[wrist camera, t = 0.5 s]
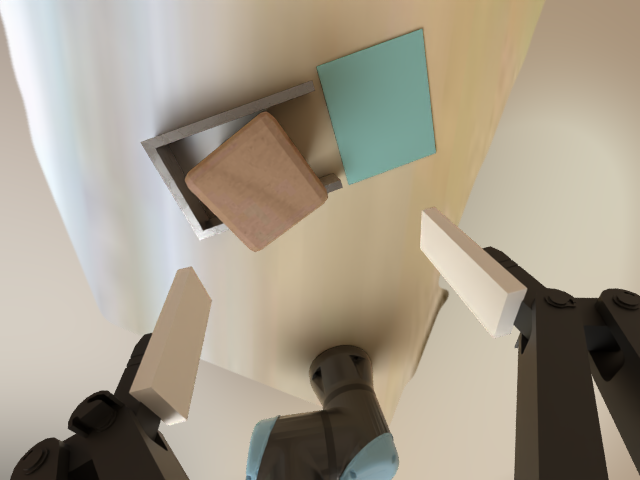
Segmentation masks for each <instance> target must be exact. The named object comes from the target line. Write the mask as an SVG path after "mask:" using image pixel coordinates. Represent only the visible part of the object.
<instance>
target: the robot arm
mask: <svg viewBox="0 0 640 480" xmlns="http://www.w3.org/2000/svg"><path fill="white" fill-rule="evenodd" d="M420 249H421V250H422V251H423V253H424V254H425V255H426V256H427V257H428V259H429V260H430V261H431V262H432V264H433V265H434V266H435V267H436V268H437V270H438V271H439V272H440V273H441V275H442V276H443V277H444V278H445V280H447V282H448V283H449V284H450V286H451V287H452V288H453V289H454V291H455V292H456V293H457V294H458V295H459V297H460V298H461V299H462V300H463V301H464V303H465V304H466V305H467V307H468V308H469V309H470V310H471V311H472V313H473V314H474V315H475V316H476V317H477V319H478V320H479V321H480V322H481V324H482V325H483V326H484V327H485V329H486V330H487V331H488V332H489V334H490V335H491V336H492V337H493V338H496V337H500V336H504V335H508V334H511V331H512V328H513V325H515V327H516V328H517V329H518V330H519V331H520V335H519V337H518V340H517V342H516V345H515V348H519V349H518V350H519V351H518V380H517V410H516V412H517V413H516V443H515V474H514V480H609V479H608V473H607V467H606V461H605V455H604V449H603V443H602V437H601V431H600V424H599V418H598V412H597V406H596V400H595V394H594V388H593V381H592V376H593V378H594V381H595V382H596V385H597V387H598V389H599V391H600V393H601V395H602V397H603V399H604V401H605V404H606V405H607V408H608V410H609V412H610V414H611V416H612V418H613V420H614V422H615V424H616V427H617V429H618V431H619V432H620V435H621V437H622V439H623V441H624V443H625V445H626V448H627V450H628V451H629V454H630V456H631V458H632V460H633V462H634V464H635V466H636V468H637V471H638V472H639V475H640V296H639V295H637V294H636V293H632V292H630V291H627V290H622V289H607V290H604V291H603V292H602V293H601V295H600V297H599V298H574V297H573V296H571V295H569V294H568V293H566V292H563V291H560V290H557V289H550V288H546V287H544V286H543V285H542V284H541V283H540V282H538V281H537V280H536V279H535V278H533V277H532V276H531V275H530V274H528V273H527V272H526V271H525V270H524V269H522V268H521V267H520V266H518V264H516V263H515V262H514V261H513V260H511V259H510V258H509V257H508V256H507V255H505V254H504V253H503V252H502V251H499V250H497V249H495V248H492V247H486V248H481V247H480V246H479V245H477V244H476V243H475V242H474V241H473V240H472V239H471V238H470V237H468V236H467V235H466V234H465V233H464V232H463V231H461V229H459V228H458V227H457V226H456V225H455V224H454V223H453V222H451V221H450V220H449V219H448V218H447V217H446V216H445V215H443V214H442V213H441V212H440V211H439V210H438V209H437V208H436V207H432V208H428V209H424V210H422V219H421V240H420ZM211 302H212V300H211V298H210V297H209V295H208V293H207V291H206V290H205V288H204V286H203V285H202V283H201V281H200V280H199V278H198V276H197V275H196V273H195V271H194V270H193V268H192V267H187V268H183V269H179V270H177V273H176V275H175V278H174V281H173V283H172V286H171V288H170V291H169V293H168V296H167V298H166V301H165V303H164V306H163V308H162V311H161V313H160V316H159V318H158V321H157V323H156V326H155V328H154V331H153V333H150V334H146V335H144V336H143V337H142V338H141V339H140V341H139V342H138V343H137V344H136V346H135V348H134V350H133V352H132V355H131V359H129V362H128V364H127V368H125V370H124V373H123V375H122V377H121V380H120V382H119V384H118V387H117V389H116V391H115V393H114V395H113V394H111V393H110V392H109V391H99V392H96V393H94V394H92V395H90V396H89V397H87V398H86V399H85V400H84V401H83V402H82V403H80V404H79V405H78V406H77V408H76V409H75V410H74V412H73V413H72V415H71V417H70V419H69V421H68V429H69V430H71V431H73V432H75V433H76V434H75V435H73V436H71V437H70V438H68V439H66V440H64V441H60V440H58V439H56V438H47V439H45V440H43V441H41V442H39V443H37V444H36V445H35V446H34V447H32V448H31V449H30V450H29V451H28V452H27V453H26V454H25V455H24V456H23V457H22V458H21V459H20V461H19V462H18V464H17V465H16V467H15V468H14V471H13V473H12V476H11V479H10V480H189V478H188V477H187V475H186V473H185V471H184V470H183V468H182V466H181V465H180V463H179V461H178V460H177V458H176V457H175V455H174V453H173V451H172V450H171V448H170V446H169V445H168V443H167V441H166V440H165V438H164V436H163V435H162V433H161V432H160V431H158V427H159V424H160V420H162V421H163V422H164V423H165V424H167V425H168V426H169V425H172V424H176V423H180V422H184V421H187V418H188V412H189V408H190V403H191V398H192V393H193V389H194V384H195V379H196V374H197V370H198V365H199V360H200V355H201V350H202V346H203V341H204V336H205V331H206V326H207V322H208V317H209V312H210V307H211ZM518 346H519V347H518ZM591 374H592V375H591ZM309 377H310V383H311V386H312V388H313V390H314V392H315V394H316V395H317V397H318V399H319V401H320V402H321V404H322V406H323V410H321V411H313V412H307V413H300V414H292V415H285V416H280V415H278V416H276V417H274V418H269V419H265V420H261V421H259V422H258V423H257V424H256V426H255V428H254V430H253V433H252V436H251V441H250V447H249V452H248V459H247V468H246V475H247V476H246V480H391V479H392V478H393V477H394V476H395V474H396V472H397V470H398V466H399V457H398V453H397V450H396V447H395V444H394V442H393V436H392V434H391V433H390V430H389V428H388V425H387V423H386V420H385V418H384V415H383V412H382V410H381V407H380V405H379V402H378V400H377V398H376V395H375V392H374V389H373V370H372V364H371V362H370V359H369V357H368V355H367V353H366V352H365V351H363V350H362V349H360V348H358V347H354V346H339V347H335V348H332V349H329V350H327V351H325V352H323V353H322V354H320V355H319V356H318V357H317V358H316V359H315V360H314V361H313V363H312V365H311V367H310V370H309Z"/></svg>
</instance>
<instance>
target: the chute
mask: <svg viewBox="0 0 640 480" xmlns="http://www.w3.org/2000/svg"><path fill="white" fill-rule="evenodd" d="M312 91H315V89H314V85H313V82H312V81H309V82H306V83H303V84H301V85H298V86H295V87H292V88H290V89H287V90H284V91H281V92H278V93H276V94H273V95H270V96H267V97H265V98H262V99H259V100H256V101H254V102H251V103H248V104H245V105H242V106H240V107H237V108H234V109H231V110H229V111H226V112H223V113H220V114H217V115H215V116H212V117H209V118H206V119H204V120H201V121H198V122H195V123H192V124H190V125H187V126H184V127H181V128H179V129H176V130H173V131H170V132H168V133H165V134H162V135H159V136H156V137H154V138H151V139H148V140H145V141H143V142H141V144H142V146H143V147H144V149H145V151H146V152H147V154H148V156H149V157H150V159H151V161H152V162H153V164H154V166H155V167H156V169H157V170H158V172H159V174H160V175H161V177H162V179H163V180H164V182H165V184H166V185H167V187H168V189H169V190H170V192H171V194H172V195H173V197H174V199H175V200H176V202H177V204H178V205H179V207H180V209H181V210H182V212H183V214H184V215H185V217H186V219H187V220H188V222H189V224H190V225H191V227H192V228H193V230H194V232H195V233H196V235H197V237H198V238H199V240H202V239H205V238H208V237H210V236H213V235H216V234H218V233H221V232H224V231H226V230H229V228H228V227H227V226H226V225H225V224H224V223H223V222H222V221H221V220H220V219H219V218H218V217H217V216H216V217H213V218H211V219H209V218H208V216H207V214H206V212H205V211H204V209H203V207H202V205H201V203H200V202H199V200H198V198H197V196H196V195H195V194H194V193H193V192H192V191H191V190H190V189H189V188H188V186H187V184H186V182H185V178H186V177H185V175H184V173H183V171H182V169H181V168H180V166H179V164H178V162H177V161H176V159H175V157H174V155H173V153H172V152H171V150H170V148H169V146H168V144H169V143H171V142H174V141H177V140H180V139H182V138H185V137H188V136H191V135H193V134H196V133H199V132H202V131H205V130H207V129H210V128H213V127H216V126H218V125H221V124H224V123H227V122H229V121H232V120H235V119H238V118H240V117H243V116H246V115H249V114H252V113H254V112H257V111H260V110H263V109H265V108H268V107H271V106H274V105H276V104H279V103H282V102H285V101H288V100H290V99H293V98H296V97H299V96H301V95H304V94H307V93H310V92H312ZM319 180H320V181H321V183H322V184H323V186H324V187H325V188H326V190H327V193H329V192H332V191H334V190H337V189H340V188H343V187H342V183H341V180H340V179H339V178H338V177H337V176H336V175H335V174H330V175H327V176H325V177H322V178H319Z"/></svg>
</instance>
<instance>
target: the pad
mask: <svg viewBox="0 0 640 480" xmlns="http://www.w3.org/2000/svg"><path fill="white" fill-rule="evenodd" d="M317 71H318V75H319V78H320V82H321V85H322V89H323V93H324V96H325V100H326V104H327V107H328V111H329V115H330V118H331V122H332V126H333V129H334V133H335V137H336V140H337V144H338V148H339V151H340V155H341V159H342V162H343V166H344V170H345V173H346V177H347V181H348V184H349V185H350V184H353V183H356V182H359V181H361V180H364V179H367V178H369V177H372V176H375V175H377V174H380V173H383V172H386V171H388V170H391V169H394V168H396V167H399V166H402V165H404V164H407V163H410V162H413V161H415V160H418V159H421V158H423V157H426V156H429V155H431V154H434V153H436V149H435V140H434V131H433V122H432V113H431V104H430V95H429V85H428V76H427V67H426V58H425V49H424V40H423V31H422V29H420V30H417V31H414V32H412V33H409V34H406V35H403V36H400V37H398V38H395V39H392V40H389V41H387V42H384V43H381V44H378V45H375V46H373V47H370V48H367V49H364V50H361V51H359V52H356V53H353V54H350V55H348V56H345V57H342V58H339V59H336V60H334V61H331V62H328V63H325V64H323V65H320V66H317Z"/></svg>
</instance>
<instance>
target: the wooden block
mask: <svg viewBox="0 0 640 480" xmlns="http://www.w3.org/2000/svg"><path fill="white" fill-rule="evenodd" d="M185 182H186V184H187V186H188V188H189V189H190V190H191V191H192V192H193V193H194V194H195V195H196V196H197V197H198V198H199V199H200V200H201V201H202V202H203V203H204V204H205V205H206V206H207V207H208V208H209V209H210V210H211V211H212V212H213V213H214V214H215V215H216V216H217V217H218V218H219V219H220V220H221V221H222V222H223V223H224V224H225V225H226V226H227V227H228V228H229V229H230V230H231V231H232V232H233V233H234V234H235V235H236V236H237V237H238V238H239V239H240V240H241V241H242V242H243V243H244V244H245V245H246V246H247V247H248V248H249V249H251V250H252V251H254V252H257V251H259V250H262V249H263V248H264V247H266V246H267V245H268V244H270V243H271V242H272V241H274V240H275V239H277V238H278V237H279V236H281V235H282V234H283V233H285V232H286V231H287V230H289V229H290V228H291V227H293V226H294V225H295V224H297V223H298V222H299V221H301V220H302V219H303V218H305V217H306V216H308V215H309V214H310V213H312V212H313V211H314V210H316V209H317V208H318V207H320V206H321V205H322V204H324V202H325V201H326V200H327V198H328V195H327V190H326V188H325V187H324V186H323V184H322V183H321V181H320V180H319V179H318V177H317V176H316V174H315V173H314V172H313V170H312V169H311V167H310V166H309V165H308V163H307V162H306V160H305V159H304V158H303V156H302V155H301V154H300V152H299V151H298V149H297V148H296V147H295V145H294V144H293V142H292V141H291V140H290V138H289V137H288V135H287V134H286V133H285V131H284V130H283V128H282V127H281V126H280V124H279V123H278V121H277V120H276V119H275V117H273V116H272V115H271V114H270V113H268V112H267V111H265V112H261V113H260V114H259V115H257V116H256V117H255V118H254V119H252V120H251V121H250V122H249V123H247V124H246V125H245V126H244V127H243V128H241V129H240V130H239V131H238V132H236V133H235V134H234V135H233V136H232V137H230V138H229V139H228V140H227V141H225V142H224V143H223V144H222V145H221V146H219V147H218V148H217V149H216V150H214V151H213V152H212V153H211V154H210V155H208V156H207V157H206V158H205V159H203V160H202V161H201V162H200V163H199V164H197V165H196V166H195V167H194V168H193V169H191V170H190V171H189V172H188V173H187V175H186V178H185Z"/></svg>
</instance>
